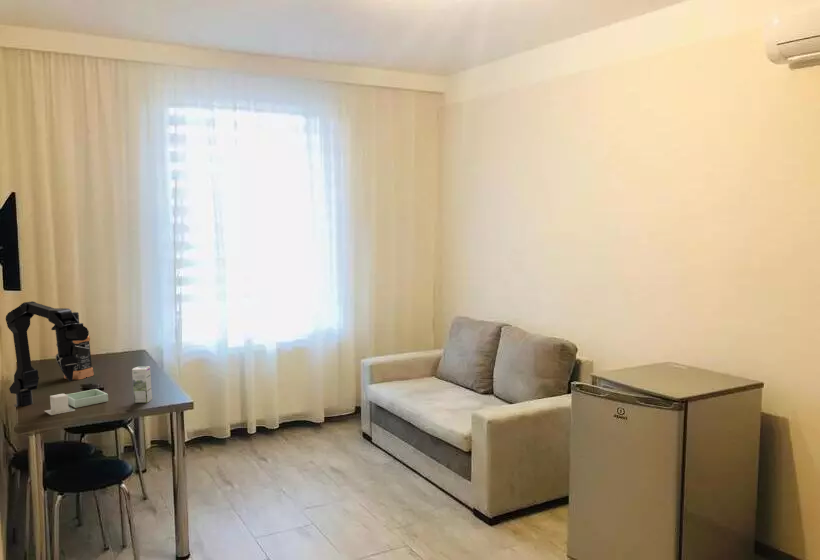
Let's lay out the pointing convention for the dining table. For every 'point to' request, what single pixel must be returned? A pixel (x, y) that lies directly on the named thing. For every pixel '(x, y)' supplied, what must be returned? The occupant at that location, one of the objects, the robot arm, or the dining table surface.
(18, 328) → the robot arm
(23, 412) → the dining table surface
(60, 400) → the block
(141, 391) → the syrup box
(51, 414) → the mount plate
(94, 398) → the parts bin
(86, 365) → the whiskey bottle
